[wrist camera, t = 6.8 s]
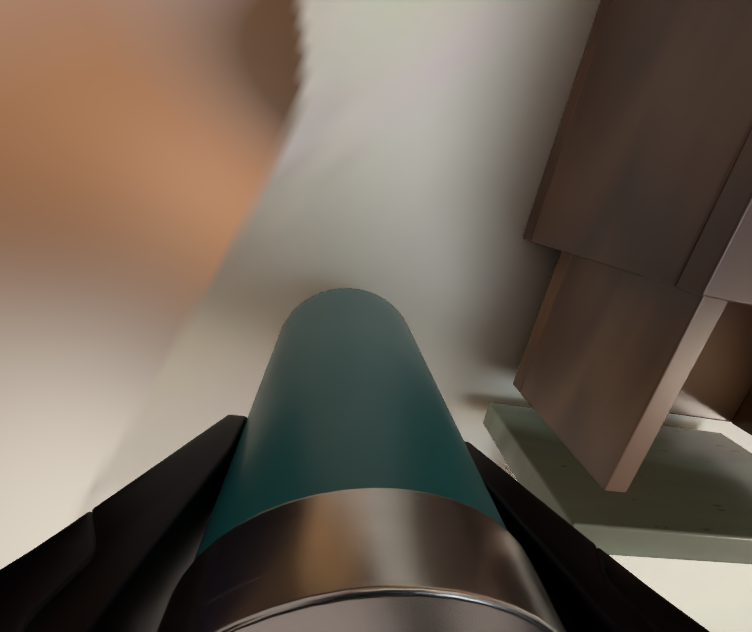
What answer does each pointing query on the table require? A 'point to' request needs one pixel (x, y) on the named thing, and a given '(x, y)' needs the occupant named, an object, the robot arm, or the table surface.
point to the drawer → (635, 415)
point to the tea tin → (354, 498)
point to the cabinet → (658, 148)
